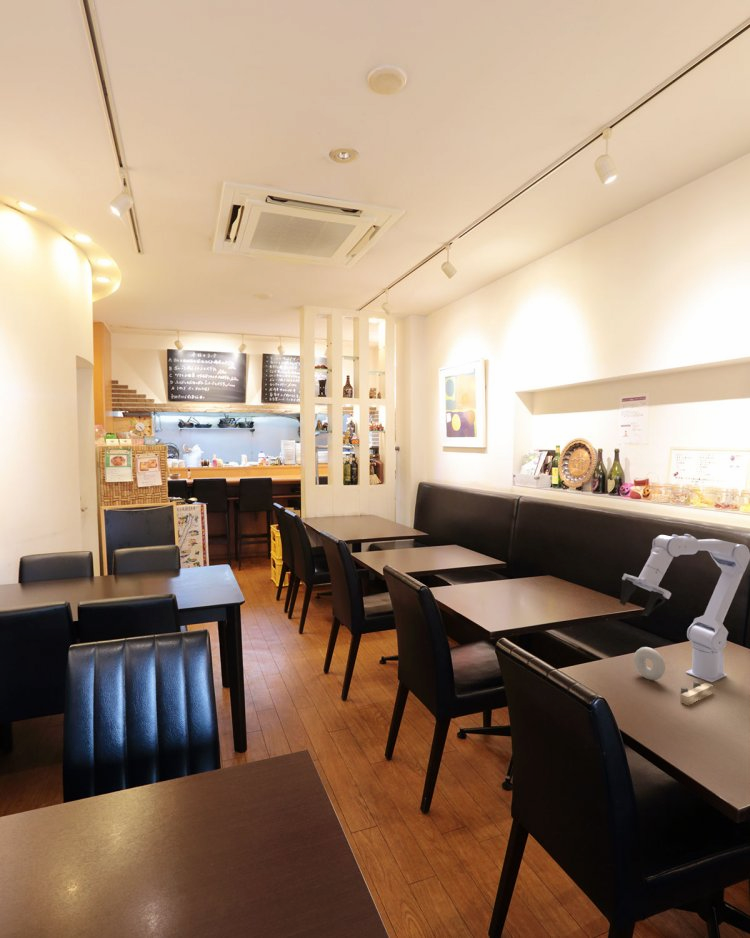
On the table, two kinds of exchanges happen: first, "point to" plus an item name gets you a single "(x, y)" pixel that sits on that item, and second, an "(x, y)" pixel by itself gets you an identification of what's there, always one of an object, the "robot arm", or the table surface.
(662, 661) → the donut
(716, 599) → the robot arm
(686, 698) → the locator
